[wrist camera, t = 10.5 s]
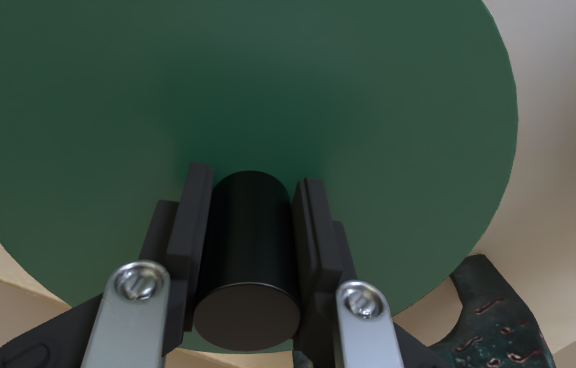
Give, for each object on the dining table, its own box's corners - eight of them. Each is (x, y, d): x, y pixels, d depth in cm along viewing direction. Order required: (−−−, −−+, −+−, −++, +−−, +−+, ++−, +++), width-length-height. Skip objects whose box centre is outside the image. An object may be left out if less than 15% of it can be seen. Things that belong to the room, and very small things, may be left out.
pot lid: (-182, 26, 10) (-539, 122, 6) (493, -271, 8) (811, -512, 3) (153, 366, 20) (121, 505, 15) (504, 276, 18) (592, 407, 13)
